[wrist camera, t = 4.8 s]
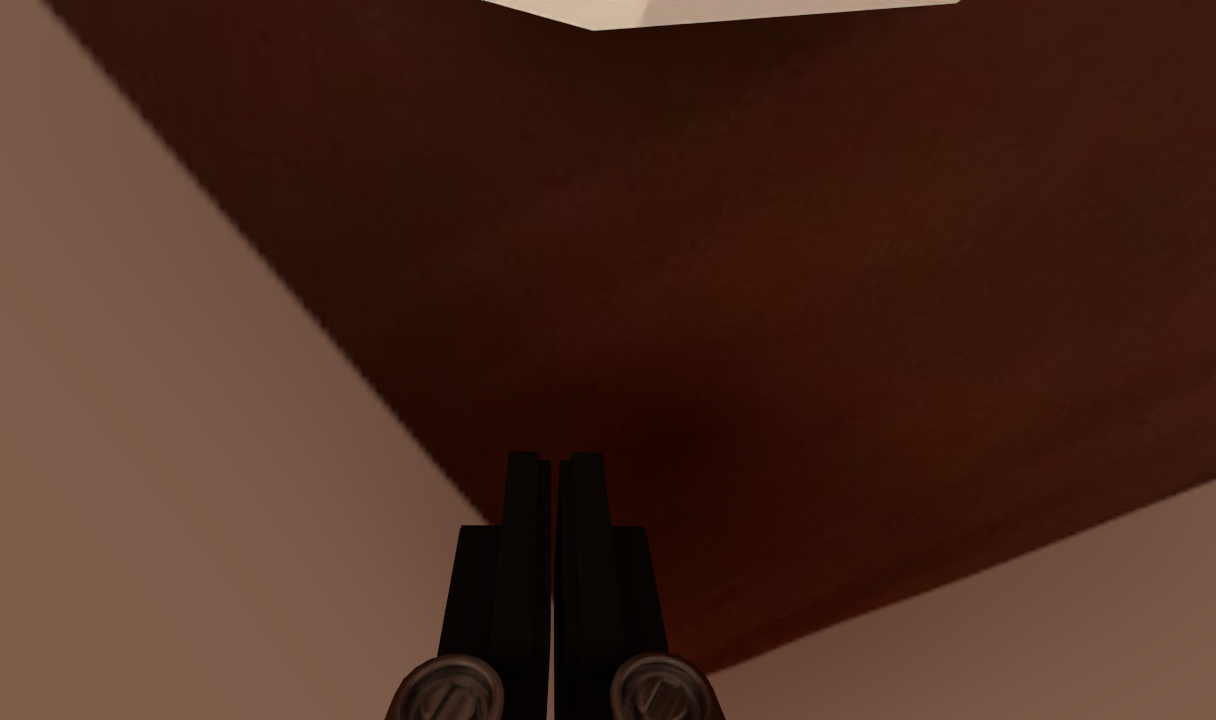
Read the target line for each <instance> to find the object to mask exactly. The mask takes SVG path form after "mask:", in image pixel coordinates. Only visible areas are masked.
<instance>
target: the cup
mask: <svg viewBox="0 0 1216 720" xmlns="http://www.w3.org/2000/svg"><path fill="white" fill-rule="evenodd" d="M485 1H488V2H492V3H496V4H499V5H503V6H506V7H510V8H513V9H517V10H521V11H524V12H528V13H531V14H535V15H539V16H542V17H546V18H549V19H553V20H557V21H560V22H564V23H567V24H571V25H574V26H578V27H582V28H585V29H589V30H592V31H596V30H609V29H622V28H635V27H648V26H661V25H675V24H688V23H701V22H714V21H727V20H740V19H753V18H767V17H780V16H793V15H806V14H819V13H832V12H845V11H859V10H872V9H885V8H898V7H911V6H924V5H937V4H950V3H957V2H958V1H960V0H485Z"/></svg>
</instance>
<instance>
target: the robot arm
mask: <svg viewBox="0 0 1216 720" xmlns="http://www.w3.org/2000/svg"><path fill="white" fill-rule="evenodd" d="M550 632H551V460H539V452H515V451H509V455H508V465H507V476H506V486H505V496H504V506H503V516H502V526H490V525H462V526H461V528H460V533H459V538H458V543H457V549H456V555H455V560H454V566H453V571H452V576H451V582H450V588H449V593H448V599H447V605H446V610H445V616H444V622H443V627H442V632H441V638H440V644H439V649H438V654H437V657H436V658H432V659H430V660H428V661H426V662H425V663H423V664H421V665H419V666H417V667H416V668H415V669H414V670H413V671H412V672H411V673H410V674H409V675H407V676H406V677H405V678H404V679H403V681H402V683H401V684H400V686H399V688H398V690H397V691H396V693H395V695H394V697H393V700H392V702H391V705H390V707H389V709H388V712H387V714H386V717H385V720H546V717H547V698H548V679H549V659H550V634H551V633H550ZM554 720H726V719H725V717H724V714H723V712H722V709H721V707H720V705H719V702H718V700H717V697H716V695H715V692H714V690H713V688H712V686H711V684H710V682H709V681H708V679H707V677H706V676H705V674H704V673H703V672H702V671H701V670H700V669H699V668H698V667H697V666H696V665H695V664H693V663H692V662H690V661H688V660H687V659H685V658H683V657H681V656H680V655H676V654H673V653H669V650H668V645H667V640H666V634H665V629H664V624H663V618H662V613H661V608H660V602H659V597H658V592H657V586H656V581H655V576H654V570H653V565H652V560H651V554H650V549H649V544H648V539H647V534H646V530H645V528H644V526H611V521H610V513H609V505H608V496H607V488H606V480H605V471H604V463H603V456H602V453H572V457H571V461H569V460H560V470H559V489H558V508H557V527H556V546H555V565H554Z"/></svg>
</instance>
